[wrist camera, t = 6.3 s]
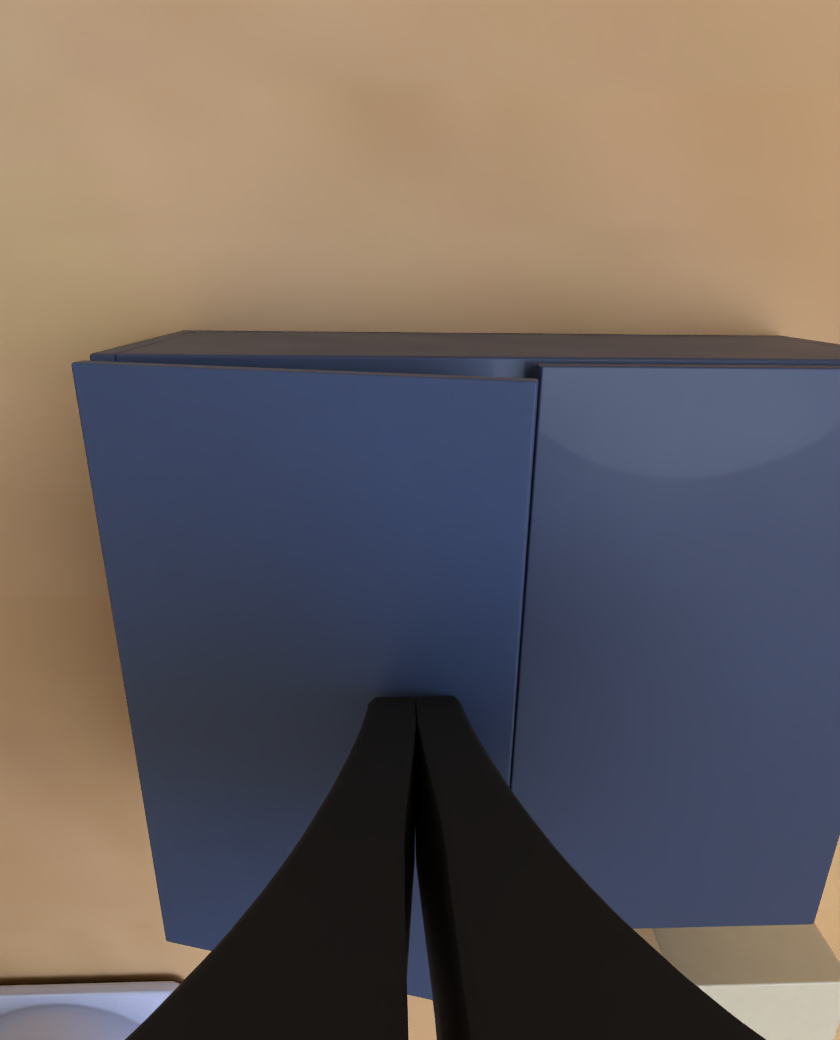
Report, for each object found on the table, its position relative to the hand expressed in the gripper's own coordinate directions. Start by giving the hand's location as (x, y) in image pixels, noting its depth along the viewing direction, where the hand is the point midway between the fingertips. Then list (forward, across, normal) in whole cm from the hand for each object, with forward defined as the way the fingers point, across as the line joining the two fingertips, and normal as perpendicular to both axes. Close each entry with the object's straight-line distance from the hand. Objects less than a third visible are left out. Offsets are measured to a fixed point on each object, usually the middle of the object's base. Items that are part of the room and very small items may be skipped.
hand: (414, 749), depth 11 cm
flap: (+1, +2, 0) cm, 2 cm away
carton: (+7, -2, 0) cm, 7 cm away
